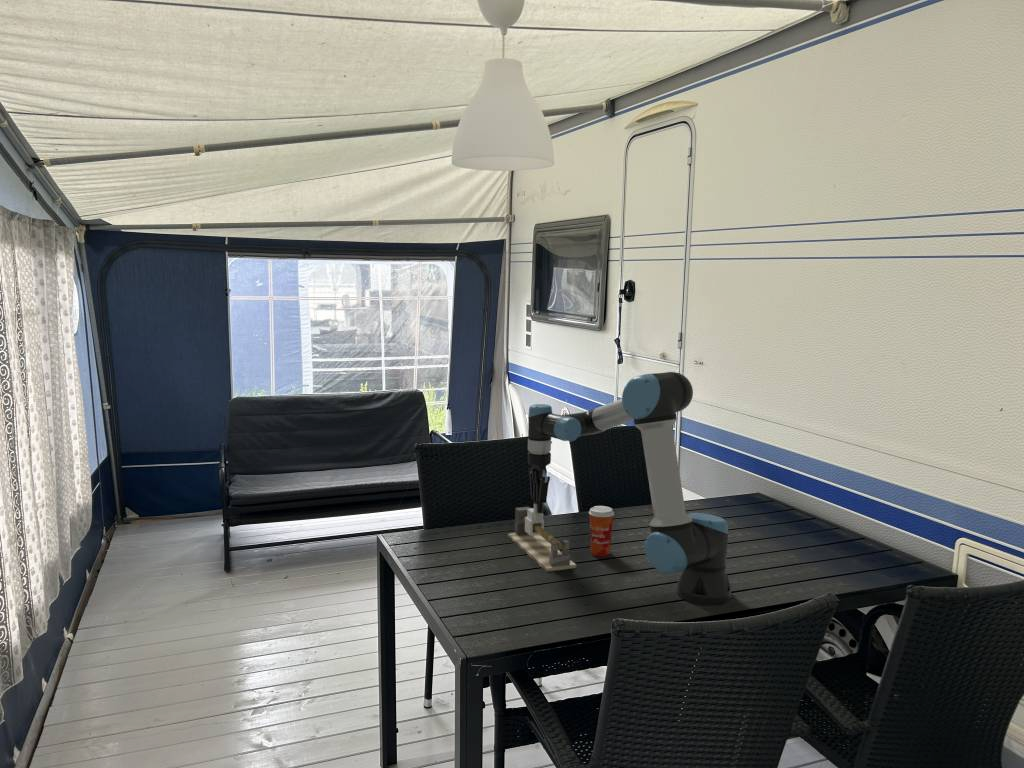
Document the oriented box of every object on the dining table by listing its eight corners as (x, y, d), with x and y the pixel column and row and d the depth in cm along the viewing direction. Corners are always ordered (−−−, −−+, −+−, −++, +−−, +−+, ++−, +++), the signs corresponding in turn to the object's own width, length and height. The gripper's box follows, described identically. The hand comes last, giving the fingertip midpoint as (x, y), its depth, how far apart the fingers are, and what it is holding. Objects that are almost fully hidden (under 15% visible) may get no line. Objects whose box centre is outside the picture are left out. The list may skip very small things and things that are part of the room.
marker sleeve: (543, 534, 256) (544, 511, 255) (530, 535, 254) (530, 512, 253) (537, 529, 260) (538, 507, 259) (524, 531, 259) (525, 508, 258)
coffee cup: (583, 554, 250) (584, 510, 248) (593, 547, 257) (594, 503, 255) (607, 559, 246) (609, 514, 244) (616, 551, 253) (618, 507, 251)
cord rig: (576, 567, 239) (577, 536, 237) (546, 571, 235) (547, 540, 234) (534, 533, 270) (535, 505, 269) (508, 536, 267) (508, 508, 265)
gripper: (558, 455, 245) (556, 526, 249) (542, 446, 258) (540, 514, 261) (536, 456, 243) (535, 528, 246) (521, 448, 255) (520, 516, 258)
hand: (538, 521), depth 253 cm, fingers closed
